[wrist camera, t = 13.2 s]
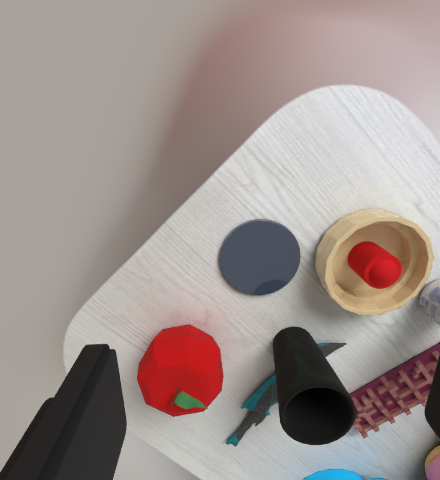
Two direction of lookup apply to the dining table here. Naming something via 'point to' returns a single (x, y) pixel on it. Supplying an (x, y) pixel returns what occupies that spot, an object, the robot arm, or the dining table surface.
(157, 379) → the apple
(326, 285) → the serving bowl
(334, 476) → the mug
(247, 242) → the dark grey coaster
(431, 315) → the beverage can
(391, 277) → the red cylinder
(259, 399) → the knife
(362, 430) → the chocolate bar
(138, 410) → the dining table surface
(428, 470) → the doughnut
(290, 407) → the cup
